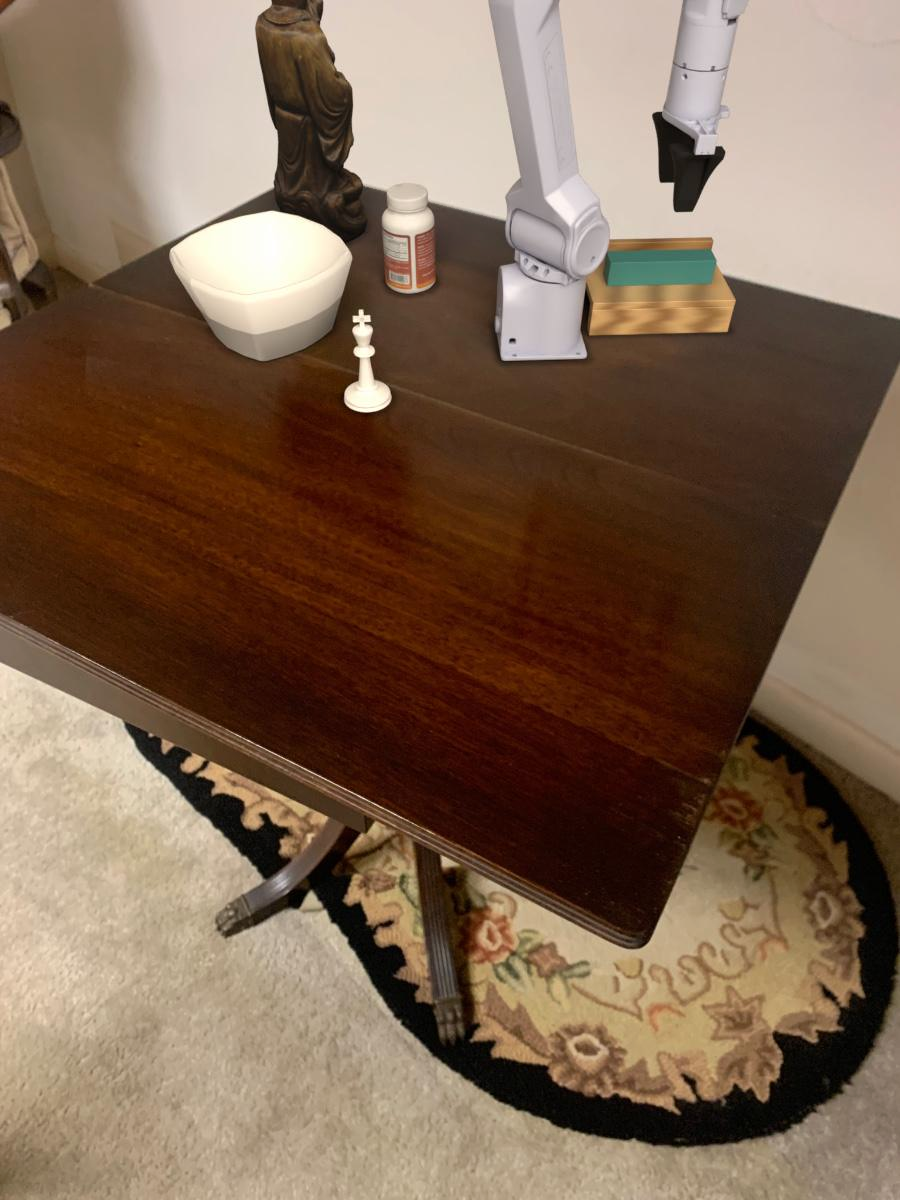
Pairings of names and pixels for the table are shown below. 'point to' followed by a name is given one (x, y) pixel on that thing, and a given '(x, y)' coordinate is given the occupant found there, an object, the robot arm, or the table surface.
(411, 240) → the pill bottle
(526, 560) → the table surface
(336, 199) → the sculpture
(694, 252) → the stick
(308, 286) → the bowl
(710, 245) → the wooden stepped tray
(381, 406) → the chess piece
